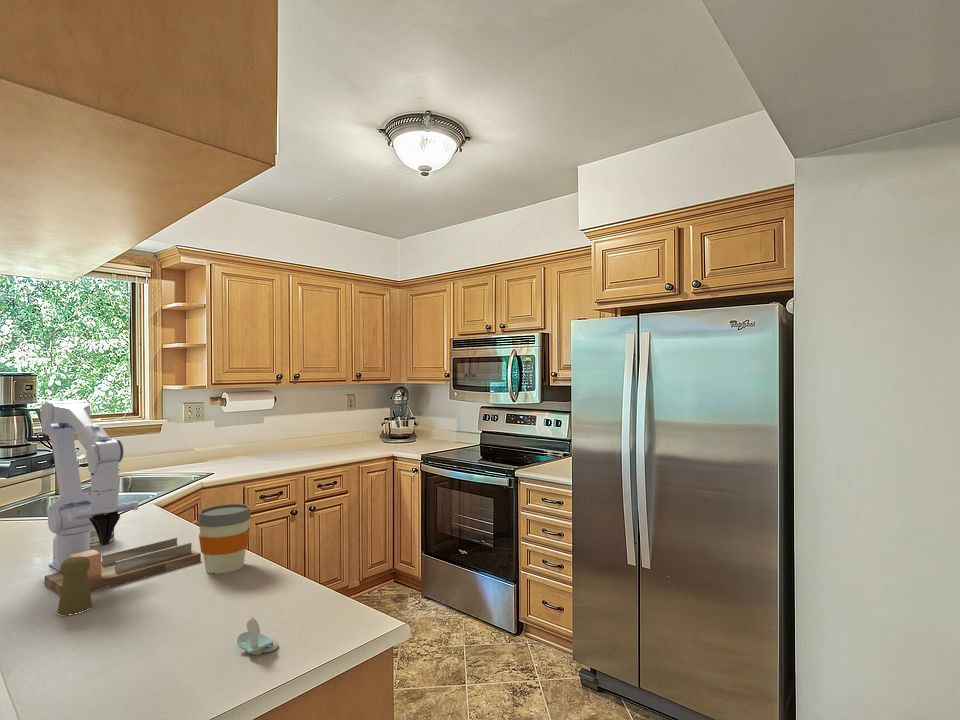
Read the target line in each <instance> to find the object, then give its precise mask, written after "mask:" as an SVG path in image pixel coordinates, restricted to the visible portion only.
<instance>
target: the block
mask: <svg viewBox="0 0 960 720" xmlns="http://www.w3.org/2000/svg"><path fill="white" fill-rule="evenodd" d="M80 556H84V557H87V558H88V559H89V560H90V567H89V570H88V571H87V575H88V577H92V576H95V575H99V574H101V562H102V552H100V551H97V550H96V549H90V550H89V551H85V552H81V553H76V554H72V555H69V558H73V557H80Z"/></svg>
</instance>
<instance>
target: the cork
mask: <svg viewBox="0 0 960 720" xmlns="http://www.w3.org/2000/svg"><path fill="white" fill-rule="evenodd" d="M89 567H90V560H89V559H88V558H87V557H84V556H80V557H73V558H69V559H67V560H65V561H64V562H63V563H62V564H61V567H60V571H59V572H61V574H62V575H63V582H62V588H61V594H59V595H60V596H59V602H58V608H57V613H58V614H60V615H69V614H75V613H79V612H82V611H85V610H87V609H89V608H91V607H92V608H93V602H92V596H91V592H90V588H89V581H88V575H87V571H88V570H89ZM92 608H91V609H92ZM89 610H90V609H89ZM85 612H86V611H85ZM58 614H57V615H58Z"/></svg>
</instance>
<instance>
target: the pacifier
mask: <svg viewBox="0 0 960 720" xmlns="http://www.w3.org/2000/svg"><path fill="white" fill-rule="evenodd" d="M246 629H247V631H245V632H242V633H240V634H239V635H238V637H237V640H236V643H237V646H238V647H239V648H240V649H241V650H243V651H247V653H249V654H250V655H261V654H262V653H263V654H264V653H269V652H270V653H271V652H273V651H275V650H276V649H278V646H279V642H278V641H277V640H276V639H274V638H271V637H269V636H266V635H264V634H262V633H261V628H260V625H259V623H258V621H257V619H256V618H255V617H253V616H251V617H248V619H247V620H246ZM268 646H269V647H268Z"/></svg>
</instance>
